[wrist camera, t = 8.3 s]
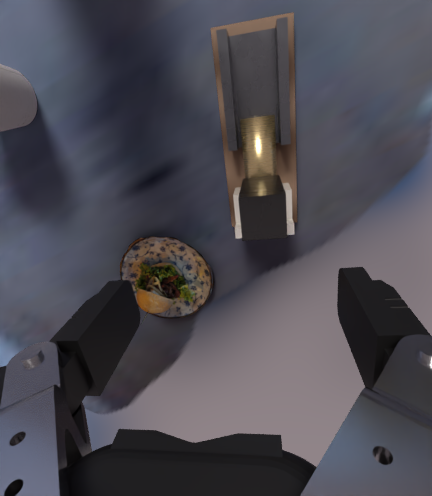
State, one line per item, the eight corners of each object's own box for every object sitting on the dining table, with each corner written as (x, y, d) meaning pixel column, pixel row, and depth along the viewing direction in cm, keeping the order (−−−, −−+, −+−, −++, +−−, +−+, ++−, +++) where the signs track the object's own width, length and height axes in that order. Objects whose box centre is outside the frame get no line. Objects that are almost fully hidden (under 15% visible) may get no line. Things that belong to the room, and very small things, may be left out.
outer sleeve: (220, 40, 26) (216, 30, 23) (284, 28, 25) (287, 16, 22) (231, 147, 29) (228, 151, 26) (287, 141, 28) (290, 144, 25)
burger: (233, 278, 37) (228, 314, 30) (172, 325, 41) (155, 366, 35) (164, 210, 35) (141, 233, 28) (106, 268, 39) (74, 300, 32)
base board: (212, 31, 27) (210, 28, 26) (292, 16, 25) (293, 12, 24) (232, 223, 34) (232, 226, 33) (295, 218, 33) (297, 222, 31)
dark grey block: (239, 119, 27) (230, 120, 18) (274, 114, 27) (283, 113, 18) (247, 212, 31) (243, 251, 22) (278, 210, 30) (287, 249, 21)
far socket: (235, 187, 31) (231, 199, 26) (288, 182, 30) (293, 193, 26) (238, 222, 32) (235, 238, 28) (289, 218, 31) (294, 234, 27)
